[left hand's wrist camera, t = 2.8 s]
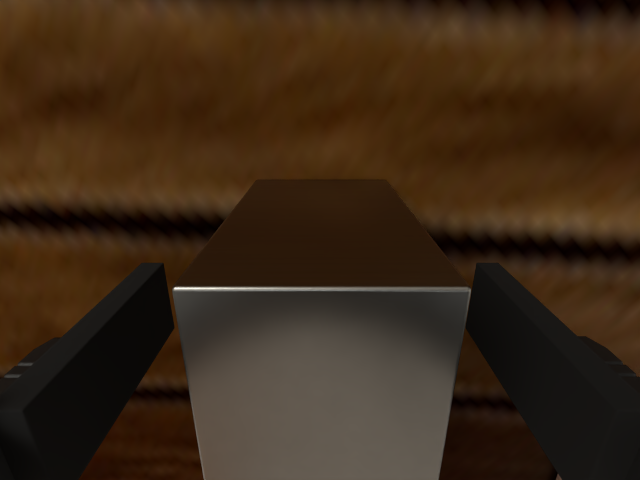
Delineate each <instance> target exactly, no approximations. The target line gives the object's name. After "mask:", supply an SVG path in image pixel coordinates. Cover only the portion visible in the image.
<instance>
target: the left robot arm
mask: <svg viewBox="0 0 640 480" xmlns="http://www.w3.org/2000/svg"><path fill="white" fill-rule="evenodd" d="M173 329H174V322H173V316H172V311H171V305H170V299H169V293H168V287H167V281H166V276H165V270H164V264H163V263H141V264H140V265H139V266H138V267H137V268H136V269H135V270H134V271H133V272H132V273H131V274H130V275H128V276H127V277H126V278H125V279H124V280H123V281H122V282H121V283H120V284H119V285H118V286H117V287H116V288H114V289H113V290H112V291H111V292H110V293H109V294H108V295H107V296H106V297H105V298H104V299H103V300H101V301H100V302H99V303H98V304H97V305H96V306H95V307H94V308H93V309H92V310H91V311H90V312H89V313H87V314H86V315H85V316H84V317H83V318H82V319H81V320H80V321H79V322H78V323H77V324H76V325H74V326H73V327H72V328H71V329H70V330H69V331H68V332H67V333H66V334H65V335H64V336H63V337H61V338H53V339H51V340H50V341H48V342H46V343H44V344H43V345H41V346H39V347H37V348H36V349H34V350H33V351H32V352H30V353H29V354H28V355H27V356H26V357H25V358H24V359H22V360H21V361H20V362H19V363H18V366H15V367H13V368H12V369H11V370H10V371H9V372H8V373H7V374H5V377H4V378H1V379H0V480H78V479H79V477H80V476H81V474H82V473H83V471H84V470H85V468H86V466H87V465H88V463H89V462H90V460H91V459H92V457H93V455H94V454H95V452H96V451H97V449H98V448H99V446H100V444H101V443H102V441H103V440H104V438H105V436H106V435H107V433H108V432H109V430H110V429H111V427H112V425H113V424H114V422H115V421H116V419H117V418H118V416H119V414H120V413H121V411H122V410H123V408H124V407H125V405H126V403H127V402H128V400H129V399H130V397H131V396H132V394H133V392H134V391H135V389H136V388H137V386H138V384H139V383H140V381H141V380H142V378H143V377H144V375H145V373H146V372H147V370H148V369H149V367H150V366H151V364H152V362H153V361H154V359H155V358H156V356H157V355H158V353H159V351H160V350H161V348H162V347H163V345H164V343H165V342H166V340H167V339H168V337H169V336H170V334H171V332H172V331H173ZM466 329H467V331H468V332H469V334H470V336H471V337H472V339H473V340H474V342H475V343H476V345H477V347H478V348H479V350H480V351H481V353H482V355H483V356H484V358H485V359H486V361H487V362H488V364H489V366H490V367H491V369H492V370H493V372H494V373H495V375H496V377H497V378H498V380H499V381H500V383H501V384H502V386H503V388H504V389H505V391H506V392H507V394H508V395H509V397H510V399H511V400H512V402H513V403H514V405H515V407H516V408H517V410H518V411H519V413H520V414H521V416H522V418H523V419H524V421H525V422H526V424H527V425H528V427H529V429H530V430H531V432H532V433H533V435H534V436H535V438H536V440H537V441H538V443H539V444H540V446H541V448H542V449H543V451H544V452H545V454H546V455H547V457H548V459H549V460H550V462H551V463H552V465H553V466H554V468H555V470H556V471H557V473H558V474H559V476H560V477H561V479H562V480H640V377H637V376H636V373H634V372H633V371H632V370H631V369H630V368H629V367H628V366H626V365H623V363H622V361H621V360H620V359H618V358H617V357H616V356H615V355H614V354H613V353H611V352H610V351H609V350H608V349H607V348H605V347H604V346H602V345H600V344H598V343H596V342H595V341H593V340H591V339H589V338H588V337H586V336H576V335H575V334H574V333H573V332H572V331H571V330H570V329H569V328H568V327H567V326H566V325H564V324H563V323H562V322H561V321H560V320H559V319H558V318H557V317H556V316H555V315H554V314H553V313H552V312H550V311H549V310H548V309H547V308H546V307H545V306H544V305H543V304H542V303H541V302H540V301H539V300H537V299H536V298H535V297H534V296H533V295H532V294H531V293H530V292H529V291H528V290H527V289H526V288H524V287H523V286H522V285H521V284H520V283H519V282H518V281H517V280H516V279H515V278H514V277H513V276H512V275H510V274H509V273H508V272H507V271H506V270H505V269H504V268H503V267H502V266H501V265H500V264H499V263H477V264H476V270H475V276H474V282H473V287H472V293H471V299H470V305H469V311H468V316H467V322H466Z"/></svg>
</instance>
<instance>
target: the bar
mask: <svg viewBox="0 0 640 480" xmlns="http://www.w3.org/2000/svg"><path fill="white" fill-rule="evenodd" d="M172 292H173V298H174V304H175V310H176V315H177V321H178V327H179V333H180V339H181V345H182V351H183V357H184V363H185V369H186V375H187V381H188V387H189V393H190V399H191V405H192V411H193V417H194V423H195V429H196V435H197V441H198V447H199V453H200V458H201V464H202V470H203V476H204V480H439V474H440V468H441V462H442V457H443V451H444V445H445V439H446V433H447V427H448V422H449V416H450V410H451V404H452V398H453V392H454V387H455V381H456V375H457V369H458V363H459V357H460V352H461V346H462V340H463V334H464V328H465V322H466V317H467V311H468V305H469V299H470V293H471V288H470V286H469V285H468V283H467V282H466V281H465V280H464V278H463V277H462V276H461V274H460V273H459V272H458V271H457V269H456V268H455V267H454V266H453V264H452V263H451V262H450V261H449V259H448V258H447V257H446V255H445V254H444V253H443V252H442V250H441V249H440V248H439V247H438V245H437V244H436V243H435V242H434V240H433V239H432V238H431V237H430V235H429V234H428V233H427V231H426V230H425V229H424V228H423V226H422V225H421V224H420V223H419V221H418V220H417V219H416V218H415V216H414V215H413V214H412V212H411V211H410V210H409V209H408V207H407V206H406V205H405V204H404V202H403V201H402V200H401V199H400V197H399V196H398V195H397V193H396V192H395V191H394V190H393V188H392V187H391V186H390V185H389V183H388V182H387V181H386V180H256V181H255V183H254V184H253V185H252V186H251V188H250V189H249V190H248V191H247V193H246V194H245V195H244V197H243V198H242V199H241V200H240V202H239V203H238V204H237V206H236V207H235V208H234V209H233V211H232V212H231V213H230V214H229V216H228V217H227V218H226V220H225V221H224V222H223V223H222V225H221V226H220V227H219V228H218V230H217V231H216V232H215V234H214V235H213V236H212V237H211V239H210V240H209V241H208V242H207V244H206V245H205V246H204V248H203V249H202V250H201V251H200V253H199V254H198V255H197V257H196V258H195V259H194V260H193V262H192V263H191V264H190V265H189V267H188V268H187V269H186V271H185V272H184V273H183V274H182V276H181V277H180V278H179V279H178V281H177V282H176V283H175V285H174V286H173V289H172Z"/></svg>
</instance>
